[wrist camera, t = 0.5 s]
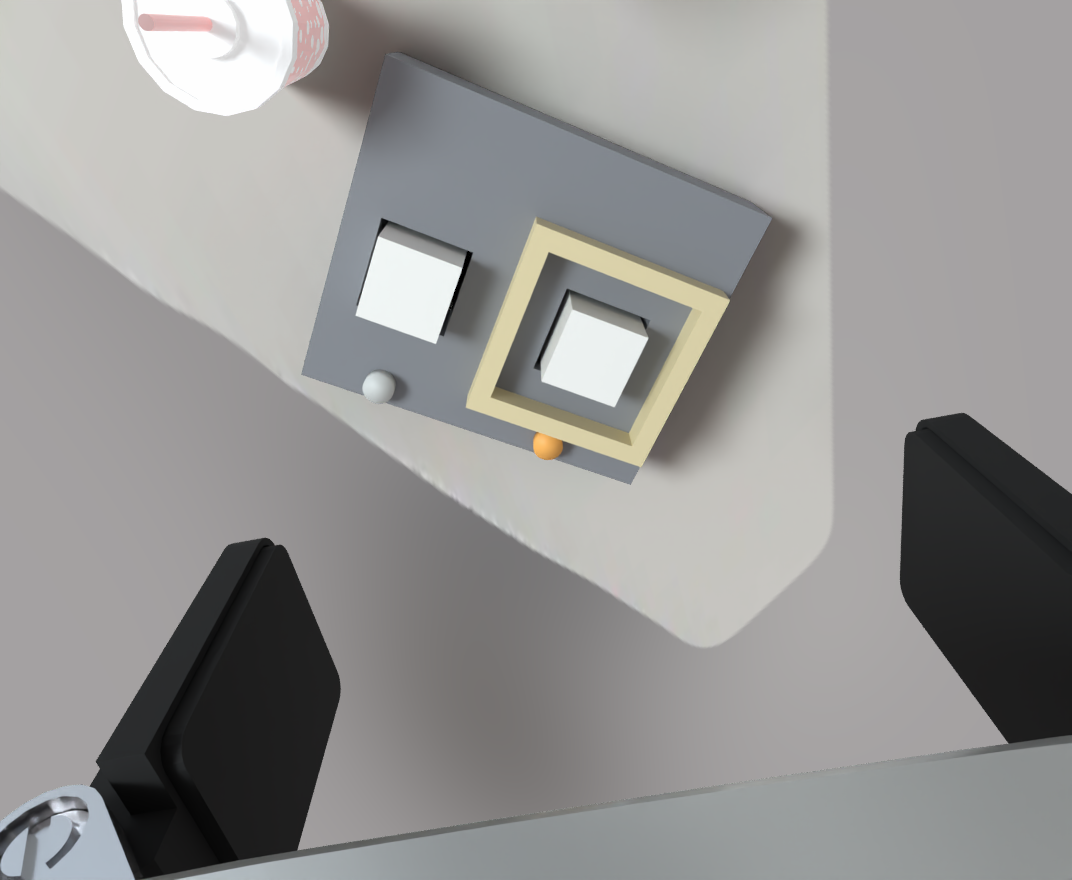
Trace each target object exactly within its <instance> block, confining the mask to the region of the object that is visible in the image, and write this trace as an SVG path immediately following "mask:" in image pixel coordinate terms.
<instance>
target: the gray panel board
mask: <svg viewBox="0 0 1072 880" xmlns="http://www.w3.org/2000/svg"><path fill="white" fill-rule="evenodd" d="M771 220H772V218H771V217H770V216H769V215H767V214H766V213H765V212H763V211H762V210H761V209H759V208H758V207H757V206H755V205H754V204H753V203H751V202H750V201H748V200H746V199H743V198H741V197H738V196H736V195H734V194H731V193H729V192H727V191H724V190H722V189H720V188H717V187H715V186H713V185H710V184H708V183H706V182H703V181H701V180H699V179H696V178H694V177H692V176H689V175H687V174H685V173H682V172H680V171H677V170H675V169H673V168H670V167H668V166H666V165H663V164H661V163H659V162H656V161H654V160H652V159H649V158H647V157H645V156H642V155H640V154H638V153H635V152H633V151H631V150H628V149H626V148H624V147H621V146H619V145H616V144H614V143H612V142H609V141H607V140H605V139H602V138H600V137H598V136H595V135H593V134H591V133H588V132H586V131H584V130H581V129H579V128H577V127H574V126H572V125H570V124H567V123H565V122H563V121H560V120H558V119H555V118H553V117H551V116H548V115H546V114H544V113H541V112H539V111H537V110H534V109H532V108H530V107H527V106H525V105H523V104H520V103H518V102H516V101H513V100H511V99H509V98H506V97H504V96H502V95H499V94H497V93H494V92H492V91H490V90H487V89H485V88H483V87H480V86H478V85H476V84H473V83H471V82H469V81H466V80H464V79H462V78H459V77H457V76H455V75H452V74H450V73H448V72H445V71H443V70H441V69H438V68H436V67H433V66H431V65H429V64H426V63H424V62H422V61H419V60H417V59H415V58H412V57H410V56H408V55H405V54H403V53H401V52H396V53H389V54H385V58H384V62H383V65H382V69H381V73H380V77H379V81H378V84H377V88H376V92H375V96H374V100H373V103H372V107H371V111H370V115H369V119H368V122H367V126H366V130H365V134H364V138H363V142H362V145H361V149H360V153H359V157H358V161H357V164H356V168H355V172H354V176H353V180H352V183H351V187H350V191H349V195H348V199H347V202H346V206H345V210H344V214H343V218H342V222H341V225H340V229H339V233H338V237H337V241H336V244H335V248H334V252H333V256H332V260H331V263H330V267H329V271H328V275H327V279H326V283H325V286H324V290H323V294H322V298H321V302H320V305H319V309H318V313H317V317H316V321H315V324H314V328H313V332H312V336H311V340H310V343H309V347H308V351H307V355H306V359H305V363H304V366H303V370H302V374H301V375H304V376H307V377H310V378H313V379H316V380H319V381H322V382H325V383H328V384H331V385H334V386H337V387H340V388H343V389H346V390H349V391H352V392H355V393H358V394H361V395H364V396H365V397H366V398H367V399H368V400H369V401H371V402H373V403H377V404H382V403H388V404H391V405H394V406H397V407H400V408H403V409H406V410H409V411H412V412H415V413H418V414H421V415H424V416H427V417H430V418H433V419H436V420H439V421H442V422H445V423H448V424H451V425H454V426H457V427H460V428H463V429H466V430H469V431H472V432H475V433H478V434H481V435H484V436H487V437H490V438H493V439H496V440H499V441H502V442H505V443H507V444H510V445H513V446H516V447H519V448H522V449H525V450H528V451H531V452H534V453H535V454H536V455H537V456H538V457H539V458H541V459H544V460H551V459H555V460H558V461H561V462H564V463H567V464H570V465H573V466H576V467H579V468H582V469H585V470H588V471H591V472H594V473H597V474H600V475H603V476H606V477H609V478H612V479H615V480H618V481H621V482H624V483H627V484H630V485H631V483H632V481H633V479H634V477H635V475H636V474H637V472H638V470H639V468H640V467H642V465H643V463H644V461H645V459H646V458H647V456H648V454H649V452H650V450H651V448H652V446H653V444H654V442H655V441H656V439H657V437H658V435H659V433H660V431H661V429H662V427H663V426H664V424H665V422H666V420H667V418H668V416H669V414H670V412H671V411H672V409H673V407H674V405H675V403H676V401H677V399H678V397H679V396H680V394H681V392H682V390H683V388H684V386H685V384H686V382H687V381H688V379H689V377H690V375H691V373H692V371H693V369H694V367H695V366H696V364H697V362H698V360H699V358H700V356H701V354H702V352H703V351H704V349H705V347H706V345H707V343H708V341H709V339H710V337H711V336H712V334H713V332H714V330H715V328H716V326H717V324H718V322H719V321H720V319H721V317H722V315H723V313H724V311H725V309H726V307H727V306H728V304H729V302H730V297H731V295H732V293H733V291H734V289H735V287H736V286H737V284H738V282H739V280H740V278H741V276H742V274H743V272H744V271H745V269H746V267H747V265H748V263H749V261H750V259H751V257H752V256H753V254H754V252H755V250H756V248H757V246H758V244H759V242H760V240H761V239H762V237H763V235H764V233H765V231H766V229H767V227H768V225H769V224H770V222H771ZM388 221H391V222H394V223H397V224H399V225H402V226H405V227H407V228H410V229H412V230H415V231H418V232H420V233H423V234H426V235H428V236H431V237H433V238H436V239H439V240H441V241H444V242H446V243H449V244H452V245H454V246H457V247H460V248H462V249H465V250H467V251H470V252H471V255H470V258H469V260H468V263H467V266H466V269H465V272H464V275H463V278H462V280H461V283H460V286H459V289H458V292H457V295H456V298H455V300H454V303H453V306H452V309H451V311H450V310H448V311H447V314H446V317H445V319H444V322H443V325H442V328H441V331H440V334H439V337H438V340H437V342H436V344H434V343H431V342H429V341H426V340H423V339H420V338H417V337H414V336H412V335H409V334H406V333H403V332H400V331H398V330H395V329H392V328H389V327H386V326H383V325H381V324H378V323H375V322H372V321H369V320H366V319H364V318H361V317H358V316H355V315H356V312H357V308H358V305H359V301H360V298H361V294H362V291H363V287H364V284H365V280H366V277H367V273H368V270H369V266H370V263H371V260H372V256H373V253H374V249H375V246H376V242H377V239H378V236H379V235H380V233H381V232H382V230H383V229H384V228H385V226H386V225H387V223H388ZM567 289H570V290H572V291H575V292H578V293H580V294H583V295H585V296H588V297H591V298H593V299H596V300H598V301H601V302H604V303H606V304H609V305H612V306H614V307H617V308H619V309H622V310H625V311H627V312H630V313H633V314H635V315H638V316H640V318H641V321H642V323H643V326H644V328H645V330H646V333H647V335H648V340H647V342H646V344H645V346H644V349H643V351H642V353H641V355H640V357H639V359H638V361H637V363H636V365H635V367H634V369H633V371H632V373H631V375H630V377H629V379H628V381H627V383H626V385H625V387H624V389H623V391H622V393H621V395H620V397H619V399H618V401H617V403H616V406H615V407H612V406H609V405H607V404H604V403H601V402H598V401H595V400H592V399H590V398H587V397H584V396H581V395H578V394H575V393H573V392H570V391H567V390H564V389H561V388H559V387H556V386H553V385H550V384H547V383H544V382H542V381H541V361H540V351H541V349H542V346H543V344H544V342H545V339H546V337H547V335H548V332H549V330H550V327H551V325H552V323H553V320H554V318H555V316H556V313H557V311H558V308H559V306H560V304H561V301H562V299H563V297H564V294H565V292H566V290H567Z"/></svg>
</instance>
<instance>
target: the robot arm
mask: <svg viewBox="0 0 1072 880" xmlns="http://www.w3.org/2000/svg"><path fill="white" fill-rule="evenodd" d="M900 585H901V590H902V593H903V597H904V598H905V601H906V603H907V604H908V606H909V608H910V609H911V610H912V612H913V613H914V615H915V616H916V617H917V619H918V620H919V621H920V623H921V624H922V625H923V627H924V628H925V630H926V631H927V632H928V634H929V635H930V637H931V638H932V639H933V641H934V642H935V643H936V645H937V646H938V647H939V649H940V650H941V652H942V653H943V654H944V656H945V657H946V658H947V660H948V661H949V662H950V664H951V665H952V666H953V668H954V669H955V671H956V672H957V673H958V675H959V676H960V678H961V679H962V680H963V682H964V683H965V684H966V686H967V687H968V688H969V690H970V691H971V693H972V694H973V695H974V697H975V698H976V699H977V701H978V702H979V704H980V705H981V706H982V708H983V709H984V710H985V712H986V713H987V715H988V716H989V717H990V719H991V720H992V721H993V723H994V724H995V725H996V727H997V728H998V730H999V731H1000V732H1001V734H1002V735H1003V736H1004V738H1005V739H1006V741H1007V742H1008V743H1009V744H1003V745H996V746H988V747H980V748H972V749H965V750H957V751H950V752H944V753H937V754H930V755H923V756H916V757H909V758H903V759H895V760H888V761H882V762H875V763H868V764H861V765H855V766H847V767H840V768H834V769H827V770H820V771H813V772H806V773H800V774H792V775H786V776H779V777H772V778H765V779H758V780H752V781H745V782H738V783H731V784H724V785H718V786H711V787H705V788H698V789H691V790H685V791H678V792H671V793H664V794H659V795H651V796H644V797H638V798H631V799H625V800H619V801H611V802H606V803H599V804H592V805H585V806H579V807H572V808H566V809H559V810H552V811H546V812H539V813H533V814H526V815H520V816H513V817H507V818H500V819H494V820H488V821H481V822H475V823H468V824H463V825H456V826H450V827H443V828H437V829H430V830H424V831H418V832H411V833H405V834H398V835H393V836H386V837H380V838H373V839H367V840H360V841H354V842H348V843H341V844H335V845H328V846H323V847H316V848H310V849H304V850H298V851H297V849H298V845H299V842H300V838H301V835H302V831H303V828H304V824H305V821H306V817H307V813H308V810H309V806H310V802H311V799H312V795H313V792H314V788H315V785H316V781H317V778H318V774H319V771H320V767H321V763H322V760H323V756H324V753H325V749H326V745H327V742H328V738H329V735H330V731H331V728H332V724H333V721H334V717H335V713H336V710H337V706H338V703H339V698H340V689H341V688H340V679H339V675H338V672H337V670H336V667H335V665H334V662H333V660H332V658H331V655H330V653H329V650H328V648H327V646H326V643H325V641H324V638H323V636H322V634H321V631H320V629H319V626H318V624H317V622H316V619H315V617H314V614H313V612H312V610H311V607H310V605H309V603H308V600H307V598H306V595H305V593H304V591H303V588H302V586H301V583H300V581H299V579H298V576H297V574H296V571H295V569H294V567H293V564H292V562H291V559H290V557H289V555H288V553H287V550H286V549H285V548H284V546H282V545H276V546H275V545H274V543H273V542H272V541H271V540H270V539H268V538H261V539H256V540H250V541H245V542H239V543H233V544H230V545H228V546H227V547H226V548H225V549H224V551H223V553H222V554H221V556H220V558H219V559H218V561H217V563H216V564H215V566H214V568H213V569H212V571H211V573H210V574H209V576H208V578H207V579H206V581H205V582H204V584H203V586H202V587H201V589H200V591H199V592H198V594H197V596H196V597H195V599H194V600H193V602H192V604H191V605H190V607H189V609H188V610H187V612H186V614H185V615H184V617H183V619H182V620H181V622H180V624H179V625H178V627H177V628H176V630H175V632H174V634H173V635H172V637H171V638H170V640H169V642H168V643H167V645H166V647H165V648H164V650H163V652H162V653H161V655H160V656H159V658H158V660H157V661H156V663H155V665H154V666H153V668H152V670H151V671H150V673H149V675H148V676H147V678H146V680H145V681H144V683H143V685H142V686H141V688H140V690H139V691H138V693H137V694H136V696H135V698H134V699H133V701H132V703H131V704H130V706H129V708H128V709H127V711H126V713H125V714H124V716H123V718H122V719H121V721H120V723H119V724H118V726H117V727H116V729H115V731H114V732H113V734H112V736H111V737H110V739H109V741H108V742H107V744H106V746H105V747H104V749H103V750H102V752H101V754H100V755H99V757H98V759H97V760H96V763H97V764H98V766H99V768H100V770H99V772H98V773H97V775H96V777H95V778H94V780H93V782H92V783H91V785H90V787H89V786H85V785H82V784H81V785H70V786H63V787H60V788H57V789H54V790H51V791H48V792H45V793H43V794H41V795H39V796H38V797H35V798H34V799H32V800H30V801H28V802H26V803H24V804H23V805H21V806H20V807H19V808H17V809H16V810H14V811H13V812H12V813H10V814H9V815H8V816H6V817H5V818H3V819H2V820H1V821H0V880H1072V494H1071V493H1069V492H1068V491H1067V490H1065V489H1064V488H1063V487H1062V486H1060V485H1059V484H1058V483H1056V482H1055V481H1053V480H1052V479H1051V478H1050V477H1048V476H1047V475H1046V474H1045V473H1043V472H1042V471H1041V470H1039V469H1038V468H1037V467H1035V466H1034V465H1033V464H1032V463H1030V462H1029V461H1027V460H1026V459H1025V458H1024V457H1022V456H1021V455H1020V454H1018V453H1017V452H1016V451H1014V450H1013V449H1012V448H1011V447H1009V446H1008V445H1007V444H1005V443H1004V442H1002V441H1001V440H1000V439H999V438H998V437H996V436H995V435H993V434H992V433H991V432H990V431H988V430H987V429H986V428H984V427H983V426H982V425H981V424H979V423H978V422H977V421H975V420H974V419H973V418H971V417H970V416H969V415H967V414H965V413H958V414H953V415H947V416H941V417H936V418H930V419H925V420H921V421H920V422H919V423H918V425H917V427H916V431H914V432H909V433H908V434H907V435H906V438H905V445H904V475H903V505H902V535H901V563H900Z"/></svg>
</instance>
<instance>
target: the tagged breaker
mask: <svg viewBox="0 0 1072 880" xmlns="http://www.w3.org/2000/svg"><path fill="white" fill-rule="evenodd" d="M647 340H648V335H647V333H646V330H645V328H644V326H643V323H642V321H641V318H640V316H638V315H635V314H633V313H630V312H627V311H625V310H622V309H619V308H617V307H614V306H612V305H609V304H606V303H604V302H601V301H598V300H596V299H593V298H591V297H588V296H585V295H583V294H580V293H578V292H575V291H572V290H570V289H567V290H566V292H565V294H564V297H563V299H562V301H561V304H560V306H559V308H558V311H557V313H556V316H555V318H554V320H553V323H552V325H551V327H550V330H549V332H548V335H547V337H546V339H545V342H544V344H543V346H542V349H541V351H540V361H541V381H542V382H544V383H547V384H550V385H553V386H556V387H559V388H561V389H564V390H567V391H570V392H573V393H575V394H578V395H581V396H584V397H587V398H590V399H592V400H595V401H598V402H601V403H604V404H607V405H609V406H612V407H615V406H616V403H617V401H618V399H619V397H620V395H621V393H622V391H623V389H624V387H625V385H626V383H627V381H628V379H629V377H630V375H631V373H632V371H633V369H634V367H635V365H636V363H637V361H638V359H639V357H640V355H641V353H642V351H643V349H644V346H645V344H646V342H647Z"/></svg>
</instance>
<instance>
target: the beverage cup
mask: <svg viewBox="0 0 1072 880" xmlns="http://www.w3.org/2000/svg"><path fill="white" fill-rule="evenodd" d="M122 11H123V24H124V28H125V30H126V33H127V35H128V37H129V40H130V42H131V45H132V47H133V49H134V52H135V54H136V56H137V59H138V61H139V63H140V64H141V65H142V66H143V67H144V69H145V70H146V71H147V72H148V73H149V74H150V76H151V77H152V78H153V79H154V80H155V81H156V83H157V84H158V85H159V86H160V87H161V88H162V90H163V91H164V92H166V93H167V94H169V95H171V96H172V97H174V98H176V99H177V100H179V101H181V102H182V103H184V104H186V105H187V106H189V107H191V108H192V109H194V110H197V111H203V112H208V113H214V114H219V115H224V116H229V115H233V114H237V113H241V112H245V111H249V110H253V109H257V108H259V107H260V106H263V105H264V104H265V103H266V102H268V101H269V100H270V99H271V98H272V97H273V96H274V95H276V94H277V93H278V92H279V91H280V90H281V89H282V88H284V87H285V86H287V85H289V84H291V83H293V82H295V81H297V80H299V79H301V78H303V77H306V76H307V75H308V74H309V73H311V72H312V71H313V70H314V69H315V68H316V67H317V66H319V65H320V63H321V61H322V59H323V57H324V55H325V52H326V50H327V48H328V39H329V23H328V20H327V17H326V13H325V10H324V7H323V4H322V2H321V1H320V0H122Z"/></svg>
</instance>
